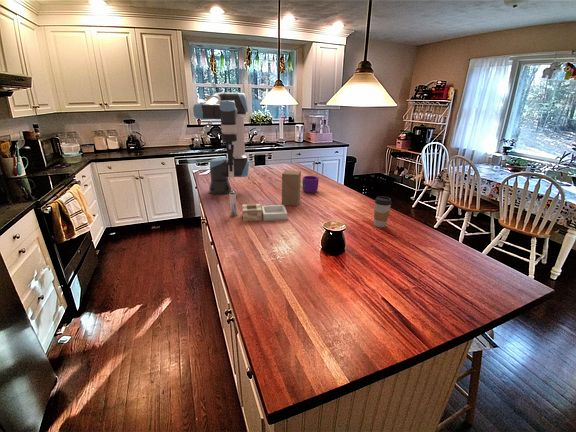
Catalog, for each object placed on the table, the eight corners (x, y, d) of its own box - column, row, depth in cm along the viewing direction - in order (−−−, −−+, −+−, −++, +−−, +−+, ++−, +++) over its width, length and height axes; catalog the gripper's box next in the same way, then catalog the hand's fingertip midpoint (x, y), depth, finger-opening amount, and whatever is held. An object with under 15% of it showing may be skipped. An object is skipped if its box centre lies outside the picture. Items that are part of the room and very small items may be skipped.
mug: (320, 192, 206) (321, 179, 202) (305, 194, 203) (305, 180, 199) (311, 186, 221) (312, 173, 217) (297, 187, 218) (297, 174, 214)
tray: (261, 212, 169) (261, 205, 168) (283, 211, 172) (283, 204, 170) (263, 221, 158) (263, 214, 156) (287, 219, 160) (287, 213, 158)
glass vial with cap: (230, 214, 166) (229, 190, 160) (236, 214, 166) (235, 190, 161) (230, 216, 163) (229, 192, 157) (237, 216, 163) (235, 192, 158)
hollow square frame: (242, 214, 166) (242, 204, 164) (260, 213, 168) (259, 203, 166) (243, 221, 157) (242, 210, 155) (261, 220, 159) (261, 209, 156)
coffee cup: (376, 220, 161) (380, 194, 155) (390, 225, 155) (395, 198, 150) (368, 224, 155) (372, 198, 150) (382, 229, 150) (387, 202, 144)
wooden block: (297, 206, 180) (298, 174, 172) (281, 205, 181) (281, 173, 174) (299, 201, 189) (301, 170, 181) (284, 199, 190) (285, 169, 183)
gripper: (222, 130, 158) (224, 169, 166) (220, 136, 135) (223, 180, 143) (236, 130, 159) (238, 168, 167) (237, 136, 136) (239, 180, 144)
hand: (231, 174), depth 155 cm, fingers open, 13 cm apart
